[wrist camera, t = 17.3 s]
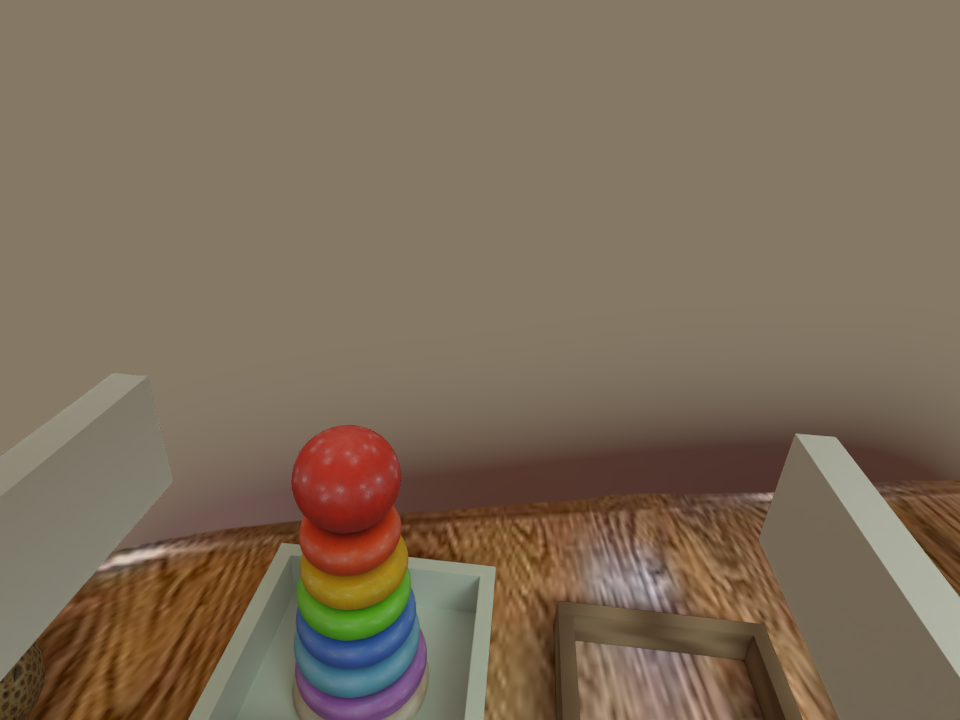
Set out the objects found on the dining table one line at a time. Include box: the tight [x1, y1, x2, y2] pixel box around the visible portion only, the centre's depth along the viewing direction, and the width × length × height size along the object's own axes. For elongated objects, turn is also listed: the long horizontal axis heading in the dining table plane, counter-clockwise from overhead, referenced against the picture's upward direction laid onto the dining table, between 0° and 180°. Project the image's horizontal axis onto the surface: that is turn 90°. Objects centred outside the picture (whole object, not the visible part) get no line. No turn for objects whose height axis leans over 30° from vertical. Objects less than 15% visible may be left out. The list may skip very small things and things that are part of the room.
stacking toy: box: [292, 425, 429, 720], centre depth 32 cm, size 8×8×19 cm
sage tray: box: [188, 543, 496, 720], centre depth 35 cm, size 15×15×4 cm
